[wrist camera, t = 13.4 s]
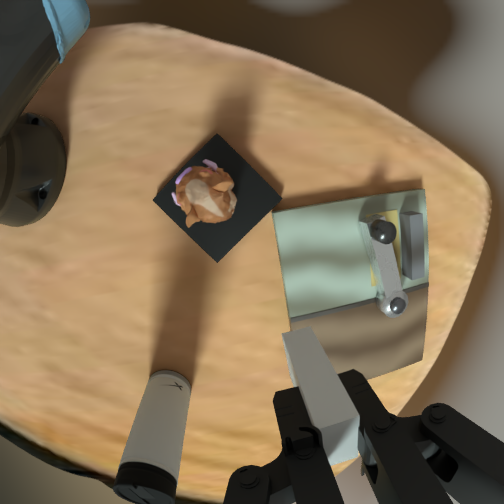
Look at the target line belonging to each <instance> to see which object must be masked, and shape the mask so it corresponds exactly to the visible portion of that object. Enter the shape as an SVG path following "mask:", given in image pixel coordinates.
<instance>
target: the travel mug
mask: <svg viewBox="0 0 504 504" xmlns="http://www.w3.org/2000/svg"><path fill="white" fill-rule="evenodd" d="M190 395H191V386H190V383H189V382H188V380H187V379H186V378H185V377H183V376H182V375H181V374H179V373H177V372H174V371H170V370H162V371H158V372H155V373H154V374H152V375H151V377H150V378H149V381H148V384H147V386H146V389H145V392H144V394H143V397H142V400H141V403H140V406H139V408H138V411H137V414H136V417H135V420H134V423H133V425H132V428H131V431H130V434H129V437H128V440H127V443H126V446H125V449H124V452H123V455H122V458H121V462H120V464H119V468H118V473H117V476H116V479H115V482H114V485H113V490H114V492H115V493H116V494H117V495H118V496H119V497H121V498H123V499H125V500H127V501H129V502H132V503H135V504H174V503H175V495H176V487H177V484H178V476H179V469H180V461H181V454H182V447H183V440H184V434H185V427H186V421H187V414H188V408H189V401H190Z"/></svg>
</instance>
